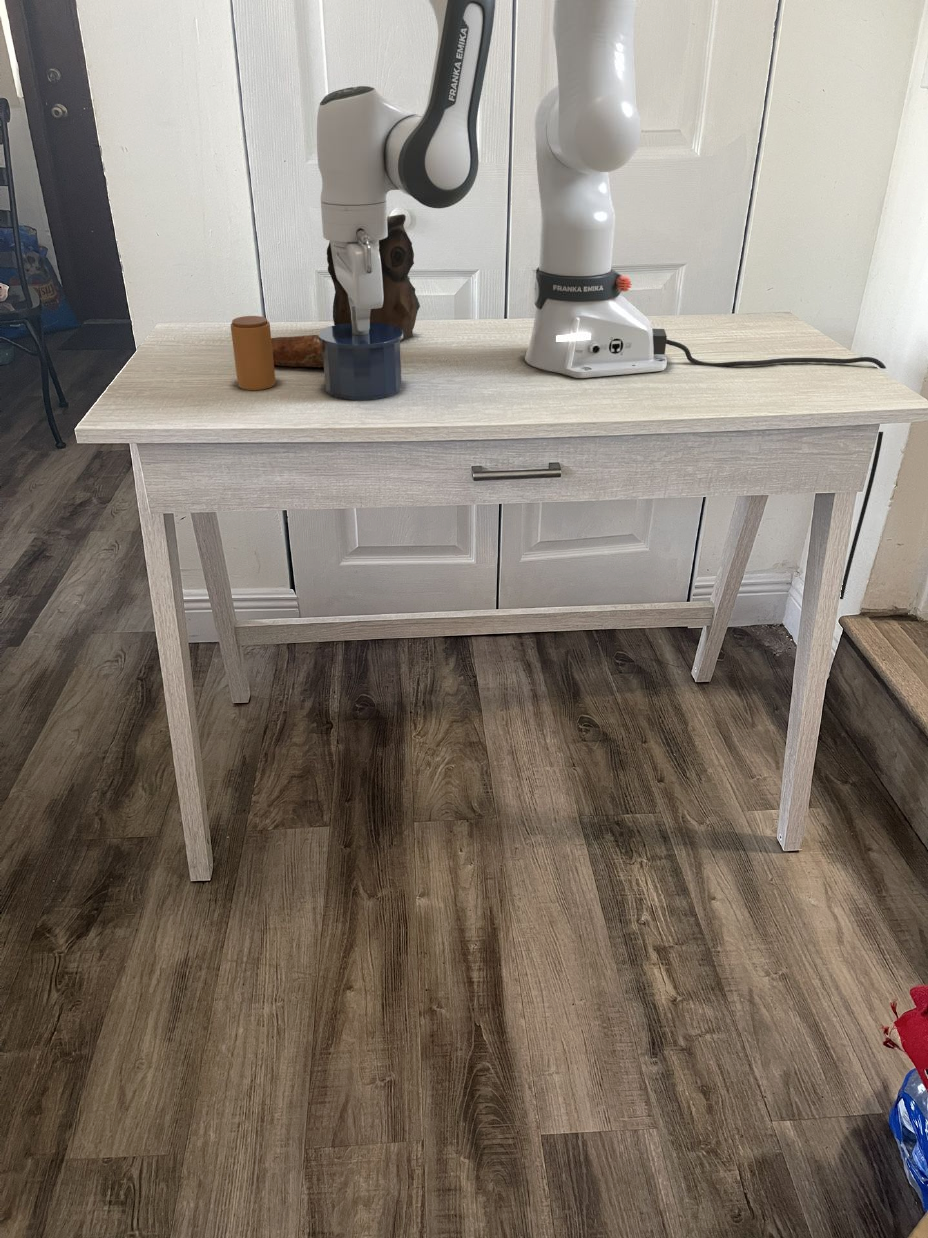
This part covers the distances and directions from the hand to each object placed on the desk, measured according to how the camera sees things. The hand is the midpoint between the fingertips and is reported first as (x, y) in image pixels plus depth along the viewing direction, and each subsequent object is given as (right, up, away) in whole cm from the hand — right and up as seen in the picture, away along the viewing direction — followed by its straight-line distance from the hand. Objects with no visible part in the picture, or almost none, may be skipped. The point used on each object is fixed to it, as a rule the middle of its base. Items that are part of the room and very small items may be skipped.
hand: (360, 326), depth 136 cm
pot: (0, -8, +5) cm, 9 cm away
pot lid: (0, -1, +1) cm, 2 cm away
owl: (-1, +7, +29) cm, 30 cm away
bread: (-10, -2, +13) cm, 17 cm away
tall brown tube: (-16, -7, +6) cm, 19 cm away
